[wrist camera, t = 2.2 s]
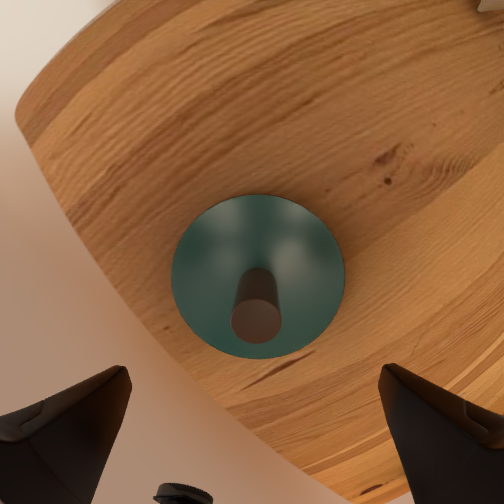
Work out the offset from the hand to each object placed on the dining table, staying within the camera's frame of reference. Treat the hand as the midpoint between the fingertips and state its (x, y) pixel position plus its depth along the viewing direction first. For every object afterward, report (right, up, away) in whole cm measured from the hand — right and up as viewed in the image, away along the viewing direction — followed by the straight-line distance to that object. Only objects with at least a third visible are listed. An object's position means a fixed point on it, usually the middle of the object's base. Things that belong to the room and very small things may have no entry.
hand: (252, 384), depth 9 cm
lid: (0, +2, +10) cm, 10 cm away
